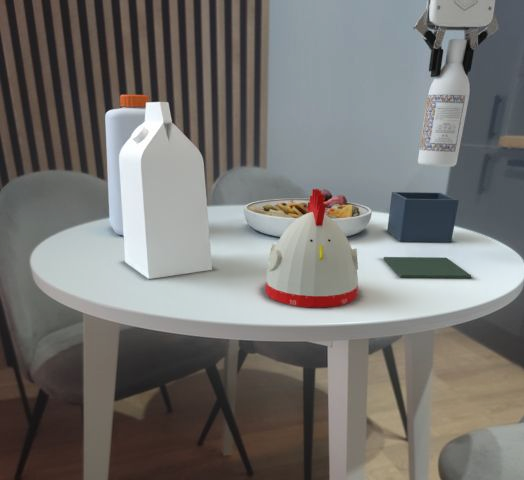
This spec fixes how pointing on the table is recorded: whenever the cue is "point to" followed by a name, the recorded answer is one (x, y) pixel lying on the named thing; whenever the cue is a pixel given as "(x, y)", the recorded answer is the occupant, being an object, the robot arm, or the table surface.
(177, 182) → the milk
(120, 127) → the plastic bottle
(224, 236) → the table surface
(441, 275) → the mat
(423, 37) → the robot arm
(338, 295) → the kitchen timer
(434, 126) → the bath foam
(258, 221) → the bowl
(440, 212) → the dark blue open box
